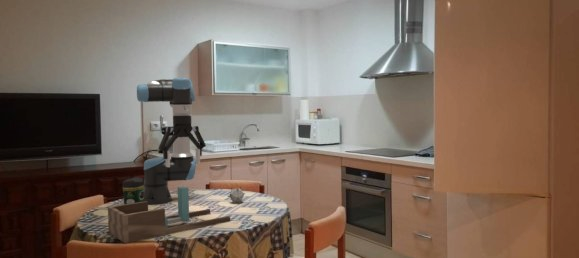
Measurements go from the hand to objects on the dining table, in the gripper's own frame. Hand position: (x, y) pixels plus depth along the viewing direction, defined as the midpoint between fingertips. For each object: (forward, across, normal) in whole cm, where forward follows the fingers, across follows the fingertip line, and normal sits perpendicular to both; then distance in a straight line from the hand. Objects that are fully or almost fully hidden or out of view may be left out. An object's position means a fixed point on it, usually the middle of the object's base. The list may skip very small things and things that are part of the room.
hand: (183, 165), depth 175 cm
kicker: (+24, -6, -1) cm, 25 cm away
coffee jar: (+25, -14, +21) cm, 35 cm away
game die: (+25, +38, +19) cm, 49 cm away
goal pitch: (+25, -6, -1) cm, 25 cm away
